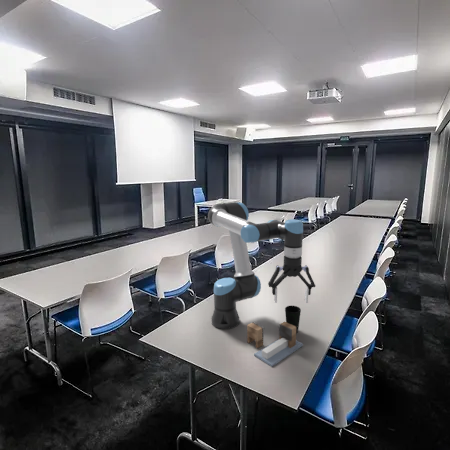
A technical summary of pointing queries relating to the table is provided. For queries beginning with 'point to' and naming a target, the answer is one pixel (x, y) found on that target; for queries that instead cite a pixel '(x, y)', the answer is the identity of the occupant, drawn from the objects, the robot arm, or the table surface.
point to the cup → (293, 316)
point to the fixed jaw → (288, 333)
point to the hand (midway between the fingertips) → (290, 301)
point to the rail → (279, 355)
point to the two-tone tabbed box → (255, 334)
